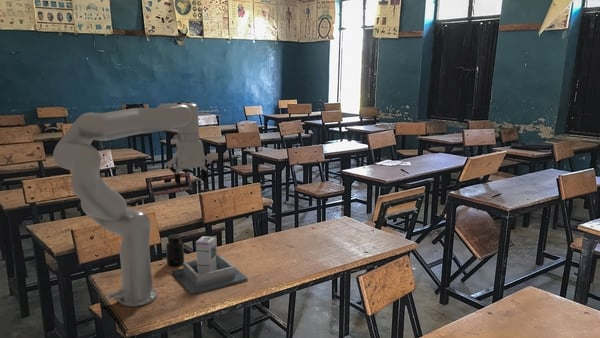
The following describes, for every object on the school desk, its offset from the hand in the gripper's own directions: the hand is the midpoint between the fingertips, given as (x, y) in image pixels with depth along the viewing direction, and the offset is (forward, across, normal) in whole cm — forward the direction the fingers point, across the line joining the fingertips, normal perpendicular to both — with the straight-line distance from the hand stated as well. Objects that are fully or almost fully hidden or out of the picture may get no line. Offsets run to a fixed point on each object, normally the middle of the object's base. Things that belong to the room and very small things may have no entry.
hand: (191, 182), depth 169 cm
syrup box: (+36, +2, -7) cm, 36 cm away
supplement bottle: (+36, -4, +12) cm, 39 cm away
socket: (+36, +3, -7) cm, 37 cm away
